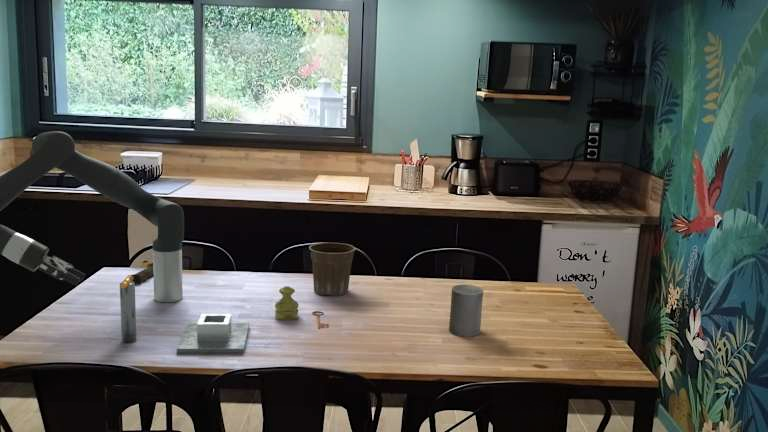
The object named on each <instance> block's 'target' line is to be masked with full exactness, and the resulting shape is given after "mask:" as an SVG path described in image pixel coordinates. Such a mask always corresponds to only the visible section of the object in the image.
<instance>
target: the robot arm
mask: <svg viewBox="0 0 768 432" xmlns="http://www.w3.org/2000/svg"><path fill="white" fill-rule="evenodd" d="M31 149H32V152H33V154H31V155H30V156H29V157H28V158H26V159H25V160H24V161H23V162H22V163H19V164H18V165H16V166H15V167H13V168H11V169H9V170H8V171H6V172H5V173H4V174H2V175H0V212H1V211H3V210H4V209H5V208H6V207H8V205H9V204H10V203H12V202H13V201H14V200H15V199H17V198H18V197H19V195H21V194H22V193H23V192H24V191H26V190H27V189H28V188H29V187H30V186H31V185H33V184H34V183H35V182H37V181H38V180H40V179H41V178H42V177H44V176H45V175H46V174H47V173H49V172H50V171H52V170H54V169H58V170H60V171H63V172H64V173H66V174H68V175H70V176H72V177H73V178H75V179H77V181H79V182H81V183H83V184H84V185H86V186H87V187H89V188H90V189H92V190H94V191H95V192H97V193H99V194H100V195H102V196H103V197H106V198H107V199H109V200H111V201H112V202H114V203H117V204H119V205H121V206H124V207H127V208H129V209H130V210H133V211H135V212H136V213H137V214H139V215H140V216H141V217H142V218H145V220H146V221H148V222H150V223H151V224H152V225H153V226H155V227H157V238H155V239H154V240H153V241H152V263H153V273H154V275H153V297H154V298H153V299H154V301H156V302H158V303H174V302H178V301H180V300H183V295H184V293H183V252H182V251H183V250H182V247H183V241H184V238H185V214H184V209H183V207H182V206H180V205H179V204H178V203H176V202H172V201H170V200H166V199H163V198H161V197H158V196H157V195H154V194H152V193H150V192H149V191H147V190H145V189H143V188H142V187H141V185H139V184H138V182H136V181H135V180H134V179H133V178H132V177H131V176H130V175H128V174H126V173H125V172H124V171H121V170H120V169H119V168H116V167H115V166H113V165H111V164H109V163H107V162H104V161H102V160H99V159H96V158H93V157H90V156H88V155H85V154H83V153H81V152H79V151H78V150H76V144H75V141H74V139H73V137H72V136H71V135H70V134H68V133H67V132H64V131H59V130H58V131H56V130H55V131H54V130H53V131H46V132H42V133H39V134H38V135H36V136H35V137H34V138H33V140H32V142H31ZM49 251H50V248H49V247H48V246H46V245H45V244H42V243H40V242H39V241H37V240H35V239H33V238H30V237H29V236H27V235H25V234H22V233H19V232H17V231H15V230H14V229H11V228H9V227H8V226H5V225H2V224H1V223H0V255H1V256H3V257H5V258H7V259H8V260H9V261H11V262H13V263H15V264H17V265H19V266H22V268H25V269H27V270H28V271H31V272H36V271H37V270H39V272H42V273H44V274H46V275H48V276H50V277H52V278H54V279H56V280H60V281H65V282H67V283H69V284H71V285H73V286H77V285H79V282H82V281H84V279H85V277H86V274H85V273H84V272H81V270H78V269H76V268H74V265H73V264H71V263H69V262H66V261H65V260H63V259H61V258H60V257H57V256H56V255H52V257H51V256H48V253H49Z"/></svg>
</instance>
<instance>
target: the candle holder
mask: <svg viewBox="0 0 768 432" xmlns="http://www.w3.org/2000/svg"><path fill="white" fill-rule="evenodd" d="M249 330H250V323H249V322H246V323H243V322H242V323H241V322H239V323H238V322H237V323H235V322H233V323H232V313H201V314H200V317H199V319H198V321H197V322H194V323H193V322H188V324H187V325H186V328H185V330H184V332H183V334H182V336H181V339H180V341H179V343H178V345H177V347H176V354H177V355H207V354H208V355H212V354H214V355H216V354H217V355H218V354H220V355H221V354H222V355H224V354H226V355H231V354H232V355H233V354H234V355H235V354H236V355H238V354H244V353H245V349H246V344H247V339H248V337H249V336H248V334H249Z"/></svg>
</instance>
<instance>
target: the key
mask: <svg viewBox="0 0 768 432" xmlns="http://www.w3.org/2000/svg"><path fill="white" fill-rule="evenodd" d="M311 314H312V315H313V316H316V321H317V329H318V330H320V329H329V328H330V323H325V322H324V323H323V322H321V317H320V316H324V315H325V314H324V312H322V311H319V310H316V311H312V312H311Z"/></svg>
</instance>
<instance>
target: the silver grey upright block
mask: <svg viewBox="0 0 768 432" xmlns="http://www.w3.org/2000/svg"><path fill="white" fill-rule="evenodd" d="M132 275H133V274H129V275H127V276H126V277H125V278H124V280H123V281H122V282H120V283H119V301H120V302H119V305H120V307H119V308H120V327H121V329H120V330H121V333H120V334H121V342H122V343H124V344H131V343H135V342H136V341H138V340H137V339H138V337H137V336H138V335H137V312H136V310H137V309H136V308H137V307H136V284H135V282H132V280H133V276H132Z"/></svg>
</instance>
